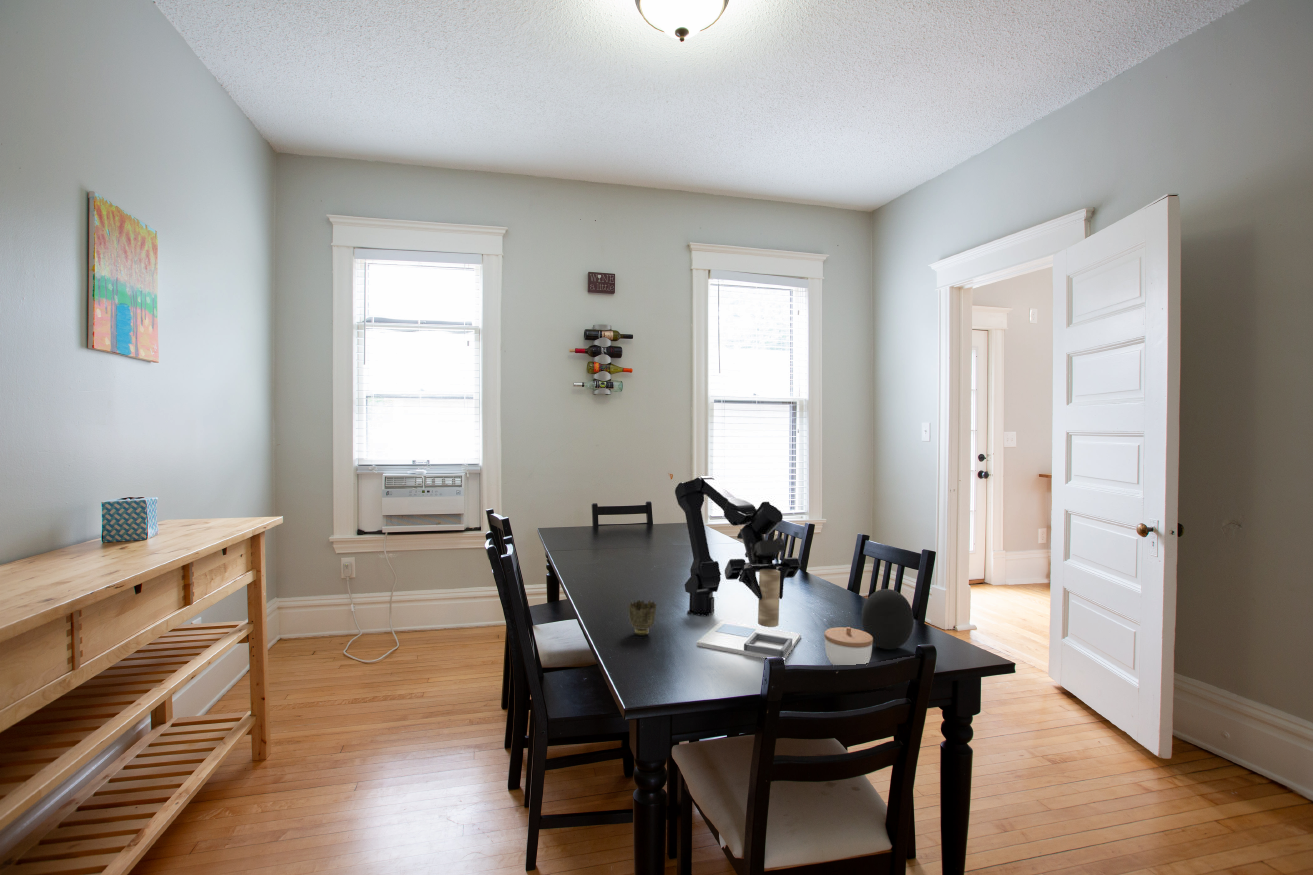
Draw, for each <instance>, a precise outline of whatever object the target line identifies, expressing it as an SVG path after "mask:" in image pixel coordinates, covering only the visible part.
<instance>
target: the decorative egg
mask: <svg viewBox="0 0 1313 875" xmlns="http://www.w3.org/2000/svg"><path fill="white" fill-rule="evenodd" d="M865 600H866V601H864V604H863V607H862V609H861V610H862V611H861V625H862V629H863V631H864V632H866V633H868V634H870V635H871V636H872V637H873V643H872V645H873V644H874V646H876V647H878V648H880V649H883V650H895V649H898V648H900V647H902V646H904V644H905V643H907V641H908V640H909V639H910V637H911V636H912V633H913V629H914V623H915V621H914V620H915V618H914V612H913V609H912V606H911V604H910V602H909V601H908V598H906V597H905V596H904V595H903V594H901V592H898V591H897V590H895V589H890V588H881V589H878V590H876V591H875V592H873V593H872V594H870V595H869V596H868V598H867V599H865Z"/></svg>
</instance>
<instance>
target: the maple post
mask: <svg viewBox="0 0 1313 875" xmlns="http://www.w3.org/2000/svg"><path fill="white" fill-rule="evenodd" d="M758 574H759V575H758V576H759V578H758V579H759V581H758V584H759V587H760V590H761V594H762V599H761V600H759V599H758V608H757V609H758V611H757V624H758V625H760V627H764V628H776V627H778V626H779V622H780V621H779V620H780V619H779V618H780V615H779V614H780V598H779V593H780V571H778V570H774V569H761V570H760V571H759V572H758Z"/></svg>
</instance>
